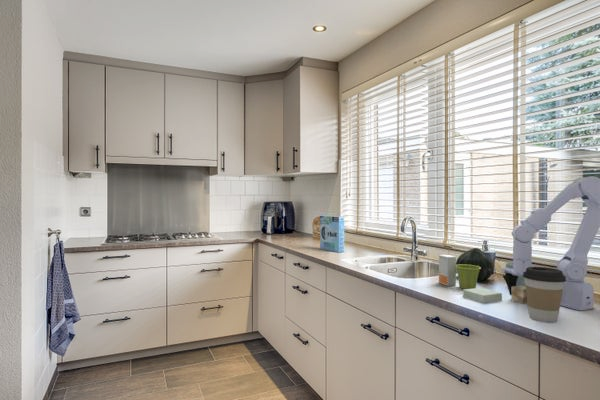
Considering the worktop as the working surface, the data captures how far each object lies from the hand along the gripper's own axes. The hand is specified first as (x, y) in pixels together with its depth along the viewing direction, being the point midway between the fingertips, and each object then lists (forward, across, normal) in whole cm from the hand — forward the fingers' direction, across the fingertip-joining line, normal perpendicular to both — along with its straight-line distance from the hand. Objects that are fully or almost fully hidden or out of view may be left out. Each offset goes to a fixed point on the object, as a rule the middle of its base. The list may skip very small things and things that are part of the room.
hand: (521, 297), depth 138 cm
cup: (+2, -14, +16) cm, 21 cm away
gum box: (+2, -133, -4) cm, 133 cm away
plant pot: (+2, -22, -2) cm, 22 cm away
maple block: (+2, 0, 0) cm, 2 cm away
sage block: (+2, -8, -10) cm, 13 cm away
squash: (+2, -33, +14) cm, 36 cm away
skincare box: (+2, -30, -5) cm, 30 cm away
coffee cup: (+2, +16, -12) cm, 20 cm away
